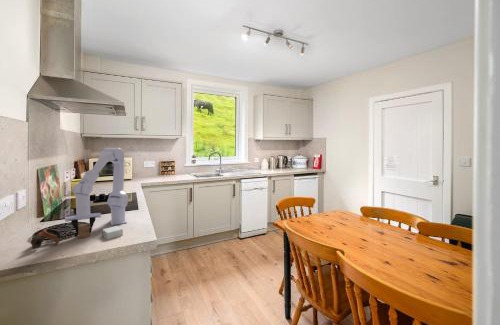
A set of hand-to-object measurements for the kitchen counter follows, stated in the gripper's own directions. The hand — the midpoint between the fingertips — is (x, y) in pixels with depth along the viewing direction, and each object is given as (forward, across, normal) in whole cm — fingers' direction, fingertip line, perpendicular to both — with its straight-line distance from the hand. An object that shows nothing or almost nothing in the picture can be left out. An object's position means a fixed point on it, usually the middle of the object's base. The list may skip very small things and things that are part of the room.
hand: (84, 233), depth 118 cm
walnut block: (+1, 0, 0) cm, 1 cm away
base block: (+2, +12, -6) cm, 14 cm away
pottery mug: (+2, -15, -4) cm, 15 cm away
